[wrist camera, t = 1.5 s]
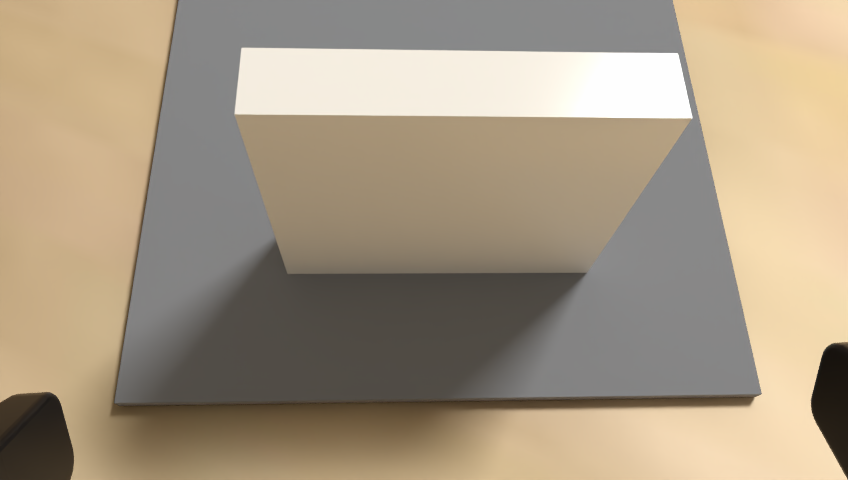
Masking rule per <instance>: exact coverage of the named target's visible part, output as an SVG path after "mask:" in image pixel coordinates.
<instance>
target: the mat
mask: <svg viewBox="0 0 848 480" xmlns="http://www.w3.org/2000/svg"><path fill="white" fill-rule="evenodd" d="M241 48H307V49H381V50H455V51H529V52H603V53H678V56H679V61H680V65H681V70H682V74H683V79H684V83H685V88H686V92H687V97H688V101H689V106H690V110H691V115H692V119H691V121H690V122H689V124H688V125H687V127H686V128H685V130H684V131H683V132H682V134H681V135H680V137H679V138H678V140H677V141H676V143H675V144H674V146H673V147H672V149H671V150H670V152H669V153H668V155H667V156H666V157H665V159H664V160H663V162H662V163H661V165H660V166H659V168H658V169H657V171H656V172H655V174H654V175H653V177H652V178H651V180H650V181H649V182H648V184H647V185H646V187H645V188H644V190H643V191H642V193H641V194H640V196H639V197H638V199H637V200H636V202H635V203H634V205H633V206H632V207H631V209H630V210H629V212H628V213H627V215H626V216H625V218H624V219H623V221H622V222H621V224H620V225H619V227H618V228H617V230H616V231H615V232H614V234H613V235H612V237H611V238H610V240H609V241H608V243H607V244H606V246H605V247H604V249H603V250H602V252H601V253H600V254H599V256H598V257H597V259H596V260H595V262H594V263H593V265H592V266H591V268H590V269H589V271H588V272H587V273H396V274H287V271H286V268H285V265H284V262H283V259H282V256H281V253H280V250H279V247H278V244H277V241H276V238H275V235H274V232H273V229H272V226H271V223H270V220H269V217H268V214H267V211H266V208H265V205H264V202H263V199H262V196H261V193H260V190H259V187H258V184H257V181H256V178H255V175H254V172H253V169H252V166H251V163H250V160H249V157H248V154H247V151H246V148H245V145H244V142H243V139H242V136H241V133H240V130H239V127H238V124H237V121H236V118H235V115H234V113H235V104H236V95H237V85H238V76H239V67H240V57H241ZM761 394H762V393H761V389H760V384H759V380H758V376H757V371H756V367H755V362H754V358H753V353H752V349H751V345H750V340H749V336H748V331H747V327H746V323H745V318H744V314H743V309H742V305H741V300H740V296H739V292H738V287H737V283H736V278H735V274H734V270H733V265H732V261H731V256H730V252H729V247H728V243H727V239H726V234H725V230H724V225H723V221H722V217H721V212H720V208H719V203H718V199H717V194H716V190H715V186H714V181H713V177H712V172H711V168H710V164H709V159H708V155H707V150H706V146H705V141H704V137H703V133H702V128H701V124H700V119H699V115H698V111H697V106H696V102H695V97H694V93H693V88H692V84H691V80H690V75H689V71H688V66H687V62H686V58H685V53H684V49H683V44H682V40H681V35H680V31H679V27H678V22H677V18H676V13H675V9H674V5H673V0H179V1H178V7H177V14H176V20H175V26H174V32H173V39H172V45H171V51H170V57H169V64H168V70H167V76H166V82H165V89H164V95H163V101H162V107H161V114H160V120H159V126H158V132H157V139H156V145H155V151H154V157H153V164H152V170H151V176H150V182H149V189H148V195H147V201H146V207H145V214H144V220H143V226H142V233H141V239H140V245H139V251H138V258H137V264H136V270H135V276H134V283H133V289H132V295H131V301H130V308H129V314H128V320H127V326H126V333H125V339H124V345H123V351H122V358H121V364H120V370H119V376H118V383H117V389H116V395H115V401H114V403H115V404H117V405H118V406H138V405H210V404H281V403H353V402H424V401H496V400H567V399H639V398H711V397H756V396H759V395H761Z"/></svg>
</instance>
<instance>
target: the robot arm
mask: <svg viewBox="0 0 848 480" xmlns="http://www.w3.org/2000/svg"><path fill="white" fill-rule="evenodd" d="M811 408H812V413H813V417H814V419H815V421H816V423H817V425H818V427H819V429H820V431H821V432H822V434H823V436H824V438H825V440H826V441H827V443H828V445H829V447H830V448H831V450H832V452H833V454H834V456H835V457H836V459H837V461H838V463H839V465H840V466H841V468H842V470H843V472H844V474H845V475H846V477H847V479H848V342H842V343H833V344H831V345H829V346H828V347H827V348H826V349H825V350H824V352H823V355H822V358H821V362H820V366H819V370H818V374H817V378H816V382H815V386H814V390H813V394H812V398H811ZM73 466H74V453H73V448H72V444H71V440H70V436H69V433H68V429H67V425H66V422H65V418H64V414H63V410H62V407H61V404H60V401H59V399H58V398H57V396H56V395H54V394H52V393H50V392H42V393H26V394H16V395H13V396H11V397H9V398H7V399H6V400H4V401H2V402H0V480H70V479H71V476H72V472H73Z"/></svg>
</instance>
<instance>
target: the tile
mask: <svg viewBox="0 0 848 480" xmlns="http://www.w3.org/2000/svg"><path fill="white" fill-rule="evenodd" d="M234 115H235V118H236V121H237V124H238V127H239V130H240V133H241V136H242V139H243V142H244V145H245V148H246V151H247V154H248V157H249V160H250V163H251V166H252V169H253V172H254V175H255V178H256V181H257V184H258V187H259V190H260V193H261V196H262V199H263V202H264V205H265V208H266V211H267V214H268V217H269V220H270V223H271V226H272V229H273V232H274V235H275V238H276V241H277V244H278V247H279V250H280V253H281V256H282V259H283V262H284V265H285V268H286V271H287V274H396V273H587V272H588V271H589V269H590V268H591V266H592V265H593V263H594V262H595V260H596V259H597V257H598V256H599V254H600V253H601V252H602V250H603V249H604V247H605V246H606V244H607V243H608V241H609V240H610V238H611V237H612V235H613V234H614V232H615V231H616V230H617V228H618V227H619V225H620V224H621V222H622V221H623V219H624V218H625V216H626V215H627V213H628V212H629V210H630V209H631V207H632V206H633V205H634V203H635V202H636V200H637V199H638V197H639V196H640V194H641V193H642V191H643V190H644V188H645V187H646V185H647V184H648V182H649V181H650V180H651V178H652V177H653V175H654V174H655V172H656V171H657V169H658V168H659V166H660V165H661V163H662V162H663V160H664V159H665V157H666V156H667V155H668V153H669V152H670V150H671V149H672V147H673V146H674V144H675V143H676V141H677V140H678V138H679V137H680V135H681V134H682V132H683V131H684V130H685V128H686V127H687V125H688V124H689V122H690V121H691V119H692V115H691V110H690V106H689V101H688V97H687V92H686V88H685V83H684V79H683V74H682V70H681V65H680V61H679V56H678V53H603V52H529V51H455V50H381V49H307V48H241V57H240V67H239V76H238V85H237V95H236V104H235V113H234Z"/></svg>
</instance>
